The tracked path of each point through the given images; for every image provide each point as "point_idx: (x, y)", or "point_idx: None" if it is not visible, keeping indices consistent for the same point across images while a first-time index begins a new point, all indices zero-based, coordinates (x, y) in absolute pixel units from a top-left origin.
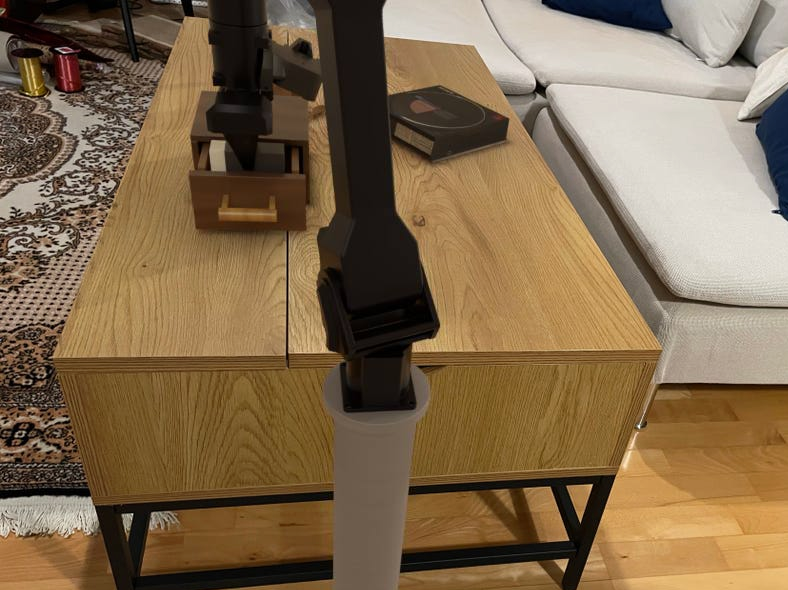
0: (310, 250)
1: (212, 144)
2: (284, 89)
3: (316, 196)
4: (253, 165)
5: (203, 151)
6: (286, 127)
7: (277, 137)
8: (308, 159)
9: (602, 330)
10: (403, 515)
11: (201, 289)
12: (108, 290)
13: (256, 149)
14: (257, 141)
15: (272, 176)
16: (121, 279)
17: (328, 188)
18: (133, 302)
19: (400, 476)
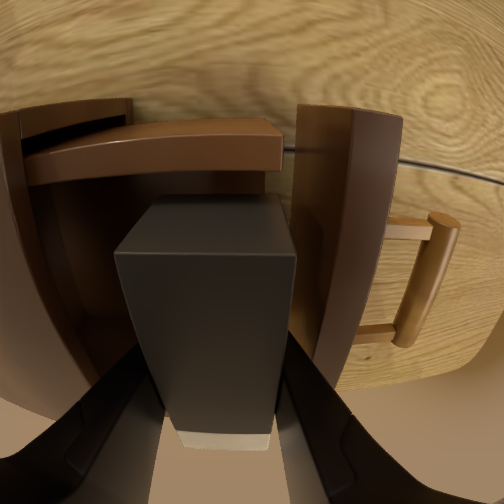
0: (373, 106)
1: (216, 447)
2: None
3: (92, 89)
4: (298, 343)
5: (167, 415)
6: None
7: (18, 263)
8: (57, 106)
9: None
10: None
11: (441, 294)
12: (403, 371)
13: (342, 401)
14: (373, 439)
15: (369, 265)
16: (387, 368)
17: (55, 70)
18: (432, 349)
19: None
